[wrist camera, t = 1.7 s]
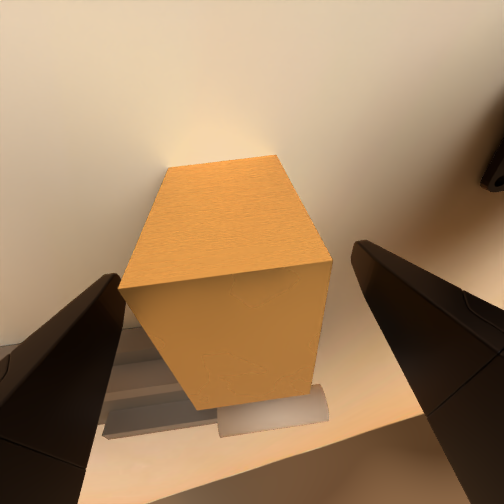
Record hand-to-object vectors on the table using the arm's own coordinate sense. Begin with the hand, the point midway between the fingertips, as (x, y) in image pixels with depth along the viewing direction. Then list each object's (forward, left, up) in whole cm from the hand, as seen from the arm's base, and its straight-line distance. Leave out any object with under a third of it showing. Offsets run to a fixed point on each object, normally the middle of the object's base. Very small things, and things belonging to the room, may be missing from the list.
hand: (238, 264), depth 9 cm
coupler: (0, 0, -2) cm, 2 cm away
